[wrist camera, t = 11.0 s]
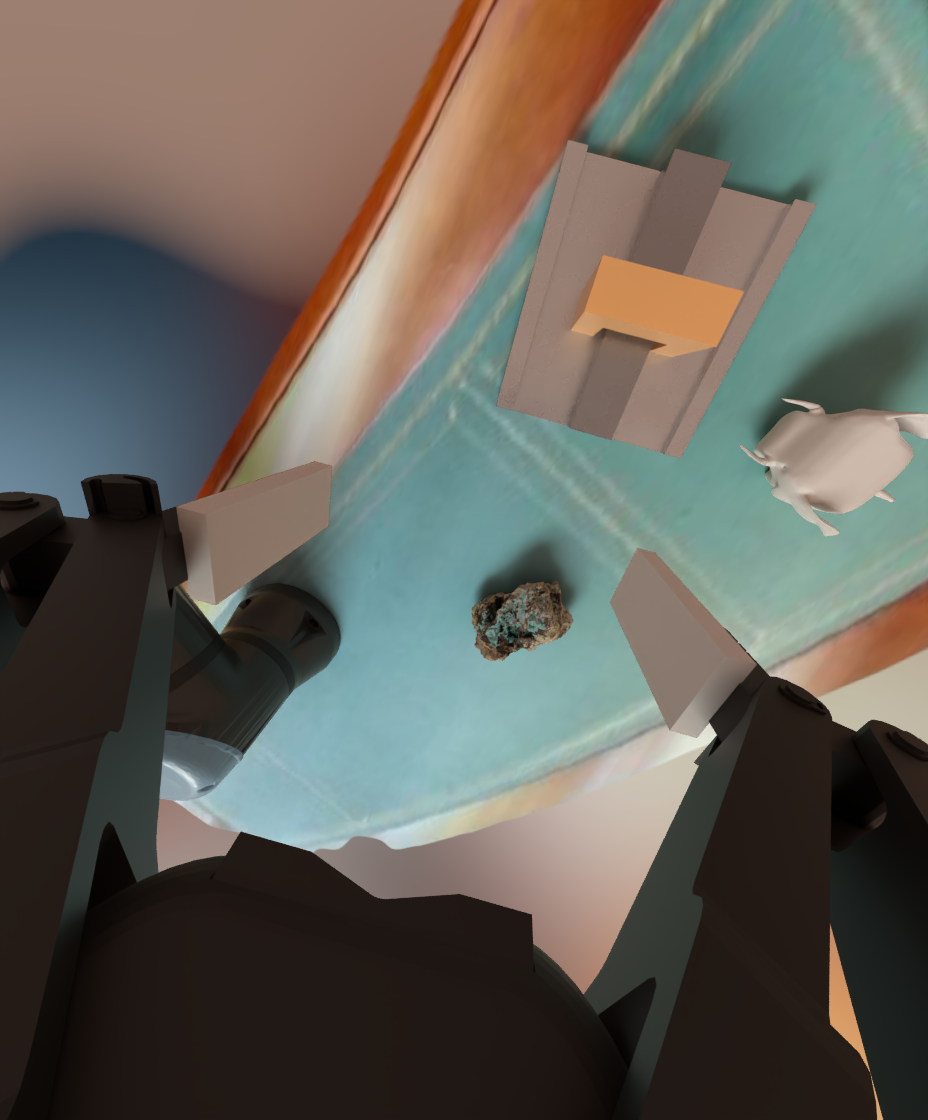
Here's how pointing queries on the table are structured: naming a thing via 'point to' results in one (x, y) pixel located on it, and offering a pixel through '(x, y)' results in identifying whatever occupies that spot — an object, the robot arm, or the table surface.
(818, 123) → the table surface
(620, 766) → the table surface
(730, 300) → the clip
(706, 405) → the rail
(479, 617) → the mineral specimen
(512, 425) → the table surface
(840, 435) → the elephant figurine
